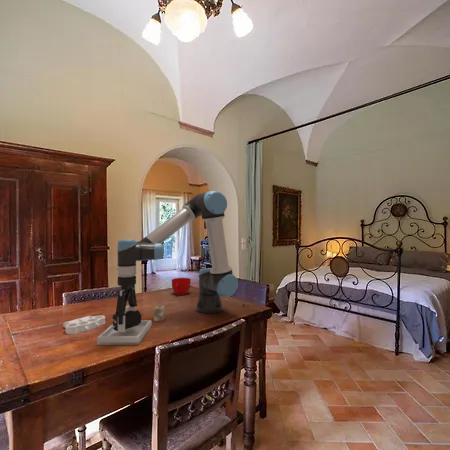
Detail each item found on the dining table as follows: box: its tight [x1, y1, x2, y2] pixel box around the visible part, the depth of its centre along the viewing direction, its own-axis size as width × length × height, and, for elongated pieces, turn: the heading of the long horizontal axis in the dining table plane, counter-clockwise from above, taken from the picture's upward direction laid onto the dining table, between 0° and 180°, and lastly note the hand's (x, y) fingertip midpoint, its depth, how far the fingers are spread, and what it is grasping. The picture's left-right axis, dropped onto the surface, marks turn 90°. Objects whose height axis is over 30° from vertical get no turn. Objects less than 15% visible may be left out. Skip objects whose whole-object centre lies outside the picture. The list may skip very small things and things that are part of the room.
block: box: [153, 305, 166, 322], centre depth 142 cm, size 4×6×6 cm, turn 0°
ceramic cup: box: [171, 277, 192, 296], centre depth 193 cm, size 13×17×10 cm
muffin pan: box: [62, 315, 106, 335], centre depth 131 cm, size 3×18×15 cm
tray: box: [96, 319, 153, 346], centre depth 121 cm, size 16×20×3 cm
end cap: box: [111, 309, 142, 331], centre depth 121 cm, size 10×7×7 cm
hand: (126, 326), depth 121 cm, fingers closed on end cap, 12 cm apart
